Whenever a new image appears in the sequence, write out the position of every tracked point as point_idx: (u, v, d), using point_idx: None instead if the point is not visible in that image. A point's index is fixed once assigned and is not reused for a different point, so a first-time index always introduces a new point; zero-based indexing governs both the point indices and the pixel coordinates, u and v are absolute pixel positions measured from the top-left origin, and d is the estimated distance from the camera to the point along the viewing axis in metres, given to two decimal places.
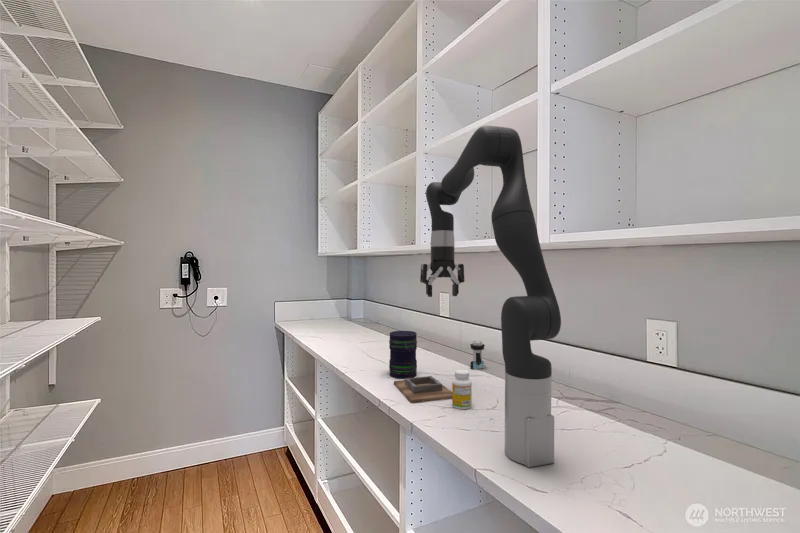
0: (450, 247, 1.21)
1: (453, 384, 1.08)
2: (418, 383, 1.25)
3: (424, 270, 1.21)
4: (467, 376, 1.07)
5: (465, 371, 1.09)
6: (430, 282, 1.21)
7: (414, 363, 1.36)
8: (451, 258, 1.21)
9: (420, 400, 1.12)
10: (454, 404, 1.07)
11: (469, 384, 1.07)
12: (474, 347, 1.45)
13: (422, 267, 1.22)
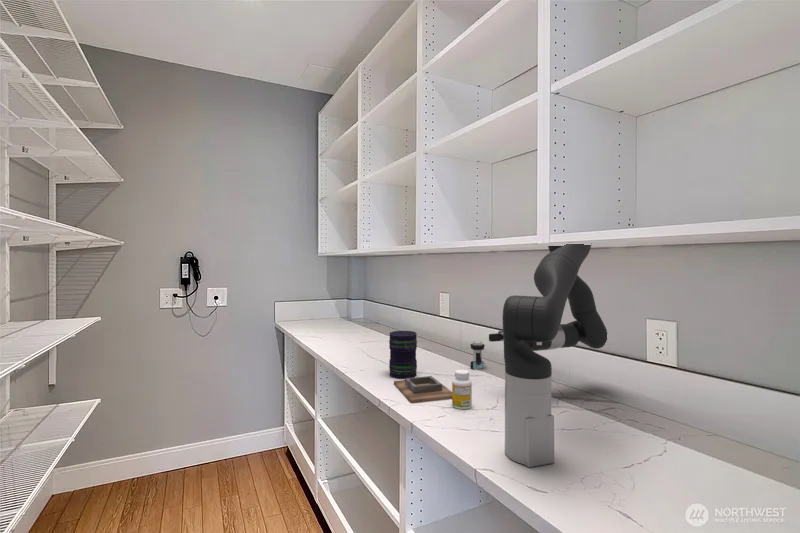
0: None
1: (453, 384, 1.08)
2: (418, 383, 1.25)
3: None
4: (467, 376, 1.07)
5: (465, 371, 1.09)
6: (502, 332, 1.18)
7: (414, 363, 1.36)
8: None
9: (420, 400, 1.12)
10: (454, 404, 1.07)
11: (469, 384, 1.07)
12: (474, 347, 1.45)
13: None
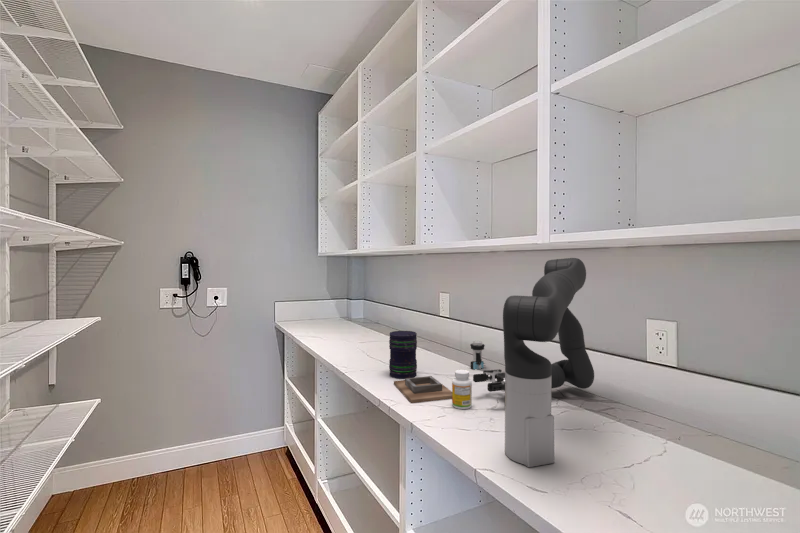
0: None
1: (453, 384, 1.08)
2: (418, 383, 1.25)
3: (494, 370, 1.19)
4: (467, 376, 1.07)
5: (465, 371, 1.09)
6: (487, 372, 1.16)
7: (414, 363, 1.36)
8: None
9: (420, 400, 1.12)
10: (454, 404, 1.07)
11: (469, 384, 1.07)
12: (474, 347, 1.45)
13: None
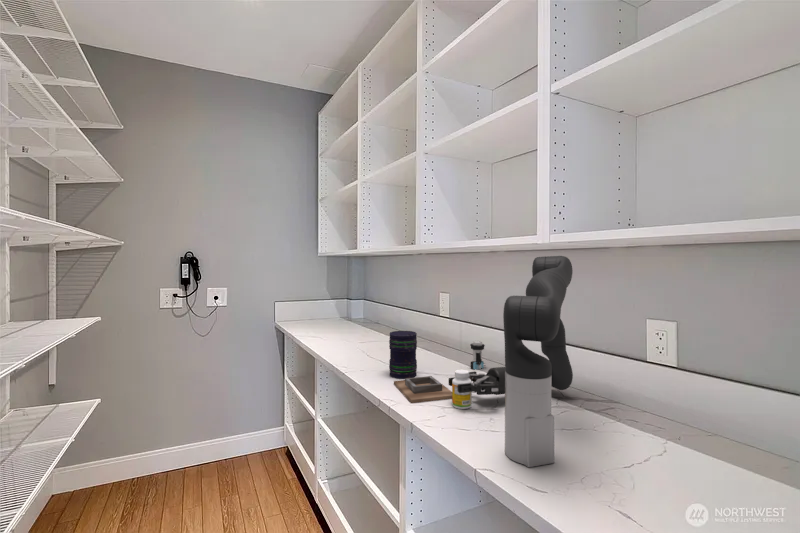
0: None
1: (453, 384, 1.08)
2: (418, 383, 1.25)
3: (469, 372, 1.16)
4: (467, 376, 1.07)
5: (465, 371, 1.09)
6: None
7: (414, 363, 1.36)
8: (497, 371, 1.10)
9: (420, 400, 1.12)
10: (454, 404, 1.07)
11: None
12: (474, 347, 1.45)
13: None
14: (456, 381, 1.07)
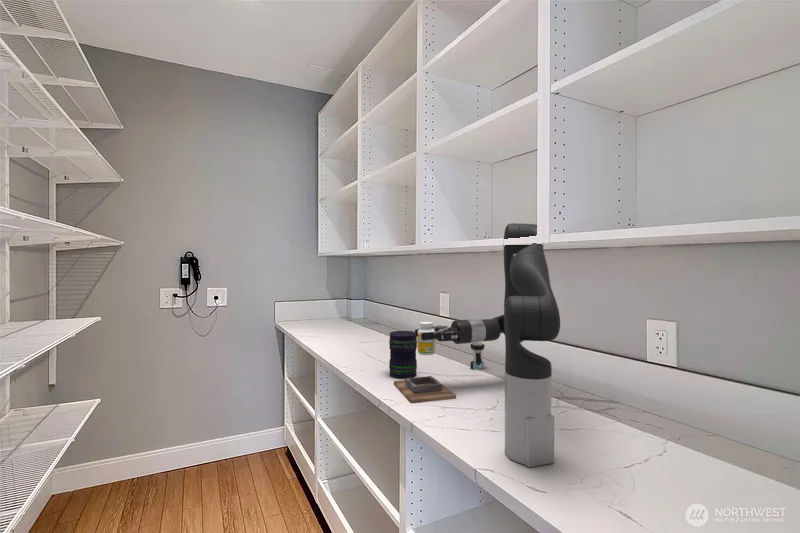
0: (468, 321, 1.23)
1: (418, 333, 1.20)
2: (418, 383, 1.25)
3: None
4: (430, 326, 1.19)
5: (429, 322, 1.21)
6: None
7: (414, 363, 1.36)
8: (458, 322, 1.22)
9: (420, 400, 1.12)
10: (419, 351, 1.20)
11: None
12: (474, 347, 1.45)
13: None
14: (420, 331, 1.19)
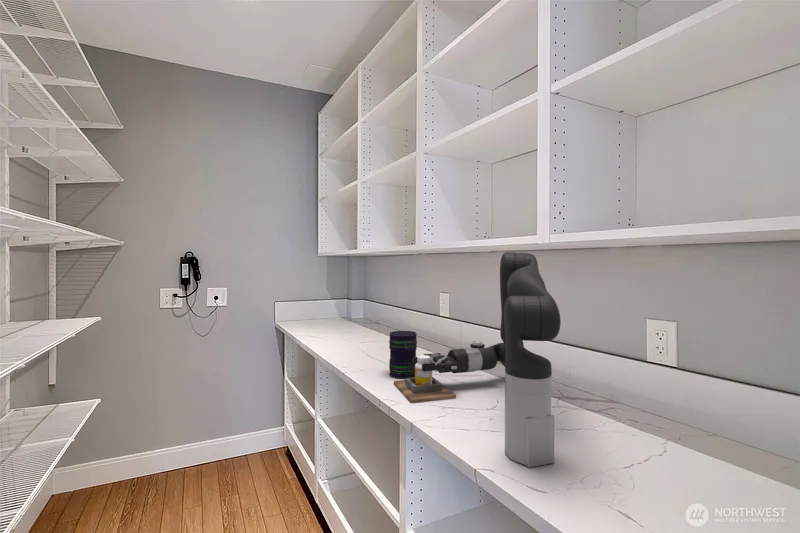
0: (464, 350, 1.24)
1: (415, 368, 1.21)
2: None
3: (434, 353, 1.29)
4: (428, 360, 1.20)
5: (426, 356, 1.21)
6: None
7: None
8: (455, 351, 1.23)
9: (420, 400, 1.12)
10: None
11: None
12: (474, 347, 1.45)
13: None
14: (418, 365, 1.20)
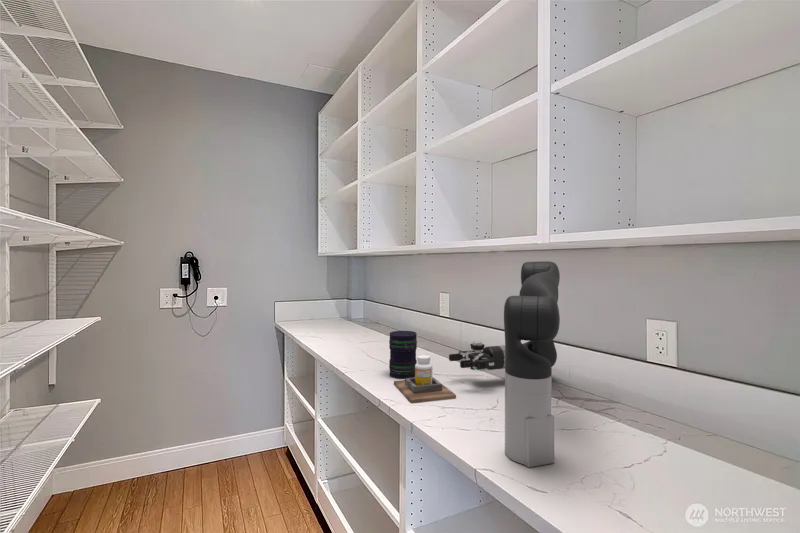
0: (499, 347, 1.28)
1: (415, 368, 1.21)
2: None
3: None
4: (428, 360, 1.20)
5: (426, 356, 1.21)
6: (461, 352, 1.30)
7: (414, 363, 1.36)
8: (490, 349, 1.26)
9: (420, 400, 1.12)
10: None
11: (429, 367, 1.19)
12: (474, 347, 1.45)
13: None
14: (418, 365, 1.20)
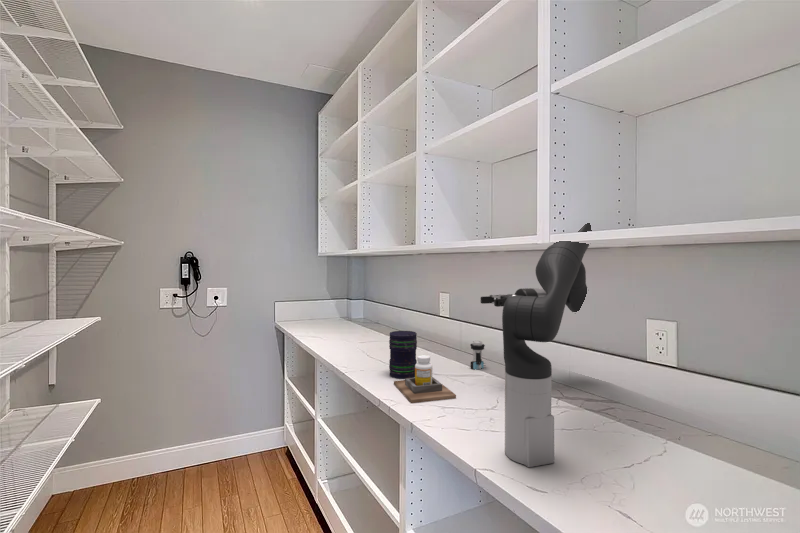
0: (533, 289, 1.24)
1: (415, 368, 1.21)
2: None
3: None
4: (428, 360, 1.20)
5: (426, 356, 1.21)
6: (493, 295, 1.27)
7: (414, 363, 1.36)
8: (524, 290, 1.23)
9: (420, 400, 1.12)
10: None
11: (429, 367, 1.19)
12: (474, 347, 1.45)
13: None
14: (418, 365, 1.20)
